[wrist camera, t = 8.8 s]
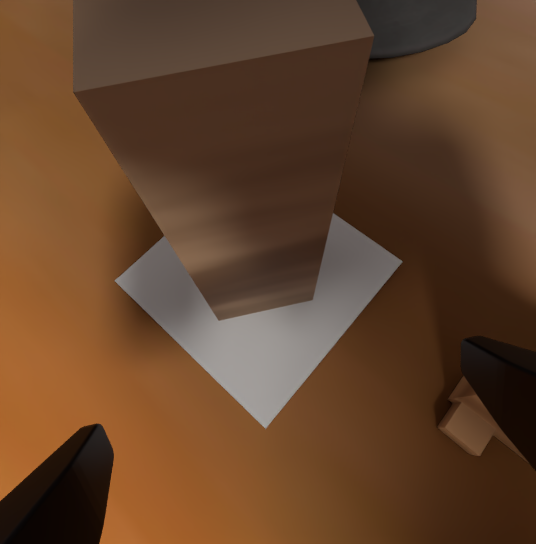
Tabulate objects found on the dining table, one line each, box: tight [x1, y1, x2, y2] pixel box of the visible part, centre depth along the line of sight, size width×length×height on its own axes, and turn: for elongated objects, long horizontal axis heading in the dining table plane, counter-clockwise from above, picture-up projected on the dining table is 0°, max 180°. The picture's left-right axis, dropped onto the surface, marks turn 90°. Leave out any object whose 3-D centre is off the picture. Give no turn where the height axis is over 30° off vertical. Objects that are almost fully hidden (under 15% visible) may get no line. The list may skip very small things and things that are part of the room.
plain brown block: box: [73, 0, 374, 321], centre depth 12 cm, size 4×4×12 cm
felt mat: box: [115, 213, 403, 429], centre depth 18 cm, size 10×10×1 cm
